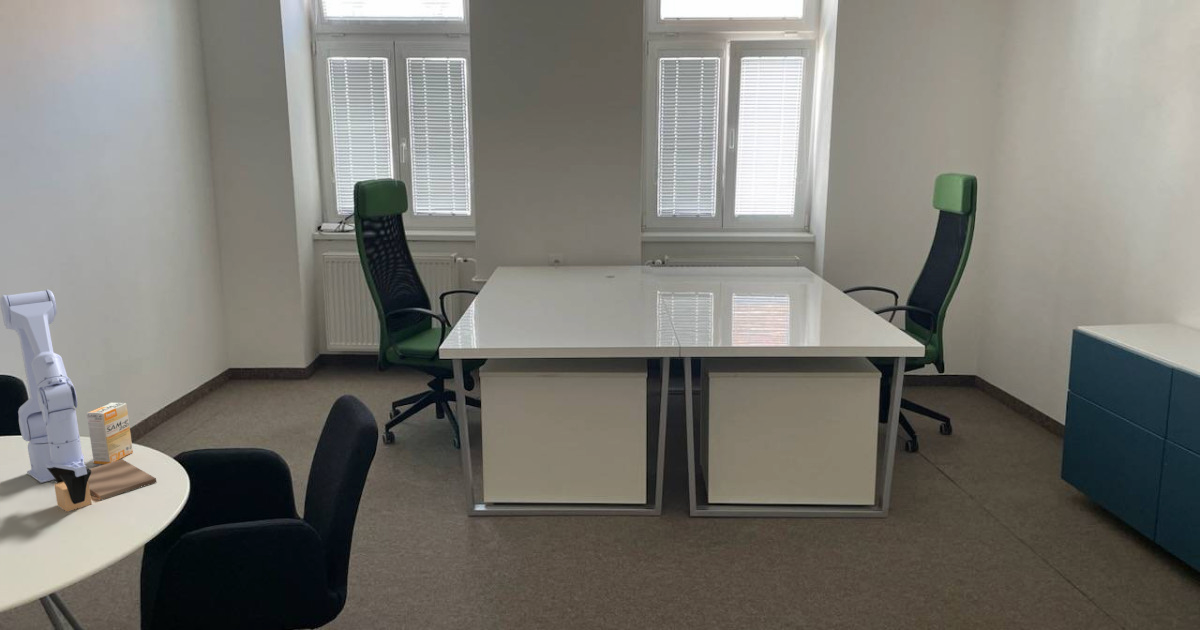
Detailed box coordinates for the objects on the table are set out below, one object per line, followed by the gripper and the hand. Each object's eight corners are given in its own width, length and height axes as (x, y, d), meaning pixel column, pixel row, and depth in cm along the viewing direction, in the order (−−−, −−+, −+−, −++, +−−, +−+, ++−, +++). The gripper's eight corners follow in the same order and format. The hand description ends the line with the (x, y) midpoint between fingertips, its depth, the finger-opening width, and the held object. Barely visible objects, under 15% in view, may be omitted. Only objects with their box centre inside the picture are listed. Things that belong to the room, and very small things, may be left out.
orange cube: (57, 505, 193) (54, 484, 192) (82, 497, 197) (79, 476, 196) (66, 512, 190) (63, 490, 189) (91, 504, 194) (88, 482, 193)
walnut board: (68, 479, 207) (68, 475, 207) (122, 463, 216) (122, 459, 216) (100, 500, 195) (99, 495, 195) (156, 482, 204) (155, 478, 204)
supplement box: (110, 465, 215) (102, 413, 212) (93, 464, 215) (85, 412, 212) (134, 452, 222) (127, 402, 219) (117, 451, 223) (110, 401, 220)
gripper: (30, 436, 192) (40, 495, 195) (56, 452, 182) (66, 514, 186) (66, 427, 197) (75, 485, 200) (93, 442, 188) (102, 502, 191)
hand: (73, 498), depth 193 cm, fingers closed on orange cube, 5 cm apart
